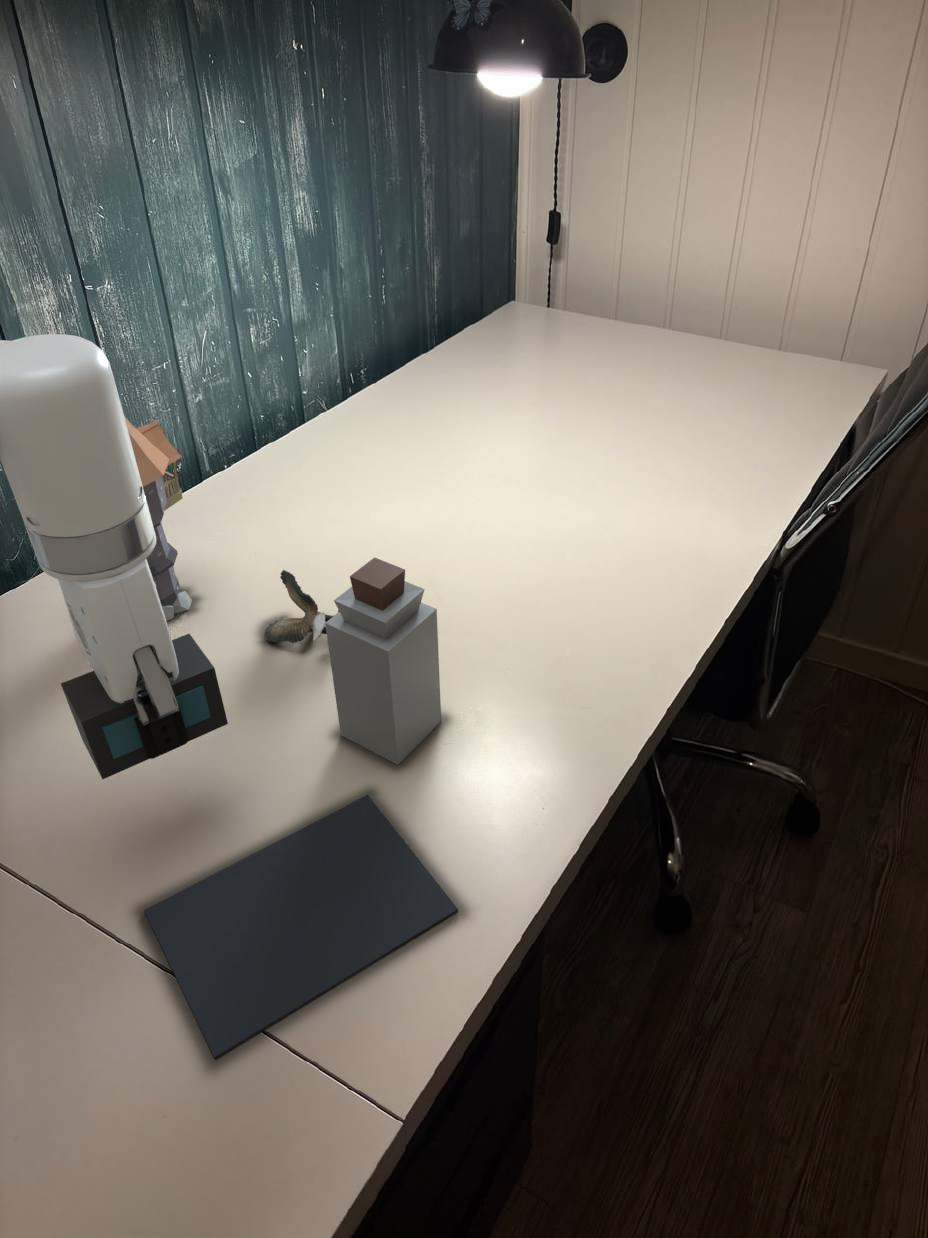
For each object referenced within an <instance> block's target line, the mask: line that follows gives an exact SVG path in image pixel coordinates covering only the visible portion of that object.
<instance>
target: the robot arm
mask: <svg viewBox="0 0 928 1238" xmlns="http://www.w3.org/2000/svg"><path fill="white" fill-rule="evenodd" d="M124 416H125V413H124V410H123V406H122V402H121V399H120V395H119V392H118V388H117V383H116V380H115V376H114V373H113V370H112V366H111V364H110V361H109V360H108V358H107V356H106V354H105V353H104V351H103V349H101V348H100V347H99V346H98V345H97V344H95V343H94V342H93V341H91V340H89V339H87V338H84V337H81V336H78V335H73V334H63V333H48V334H47V333H46V334H36V335H30V336H24V337H20V338H16V339H13V340H3V339H0V462H1V465H2V467H3V470H4V473H5V475H6V478H7V480H8V483H9V486H10V489H11V491H12V494H13V497H14V499H15V502H16V505H17V508H18V510H19V512H20V516H21V518H22V521H23V524H24V528H25V530H26V532H27V535H28V538H29V541H30V543H31V546H32V549H33V551H34V554H35V557H36V560H37V562H38V565H39V567H40V569H41V570H42V571H43V572H44V573H45V574H46V575H47V576H50V577H52V578H54V579H57V581H58V584H59V587H60V590H61V594H62V597H63V599H64V602H65V606H66V609H67V612H68V616H69V619H70V622H71V626H72V629H73V632H74V636H75V638H76V641H77V643H78V645H79V647H80V649H81V651H82V653H83V654H84V656H85V658H86V661H88V663H89V665H90V667H91V669H92V671H94V672H95V674H96V676H97V677H98V679H99V681H100V682H101V684H102V686H103V687H104V689H105V691H106V692H107V694H108V695H109V697H110V698H111V699H112V700H113V701H115V702H118V703H124V701H127V700H130V699H131V700H132V702H133V705H134V707H135V710H136V713H137V715H138V717H137V718H134V720H135V723H136V726H137V729H138V732H139V735H140V738H141V741H142V744H143V747H144V750H145V753H146V755H147V756H148V758H149V759H148V760H153V759H156V758H158V757H160V756H163V755H164V754H167V753H169V752H171V751H174V750H176V749H179V748H180V747H182V746H185V745H186V744H188V743H189V742H190V741H189V738H188V735H187V731H186V728H185V724H184V721H183V717H182V714H181V710H180V707H179V704H178V703H177V701H176V698H175V695H174V692H173V690H172V687H171V684H170V681H169V680H172V681H175V680H176V679H177V677H178V674H179V668H178V663H177V658H176V654H175V650H174V646H173V643H172V640H173V639H172V635H171V632H170V629H169V626H168V622H167V621H166V618H165V615H164V612H163V609H162V605H161V602H160V599H159V596H158V593H157V590H156V584H155V583H154V580H153V577H152V574H151V571H150V568H149V565H148V562H147V559H146V558H147V557H148V556H149V555H150V554H151V552H152V551H153V550H154V547H155V545H156V534H155V531H154V527H153V524H152V520H151V516H150V512H149V508H148V505H147V501H146V497H145V494H144V490H143V486H142V482H141V478H140V475H139V471H138V467H137V463H136V459H135V455H134V451H133V448H132V444H131V440H130V436H129V432H128V429H127V425H126V421H125V417H126V416H125V417H124ZM138 675H140V676H141V679H139V680H137V678H138ZM145 691H147V692H148V694H149V696H150V699H151V703H149V704H146V706H145V707H144V704H143V702H142V699H141V696H140V693H143V692H145ZM188 741H189V742H188Z"/></svg>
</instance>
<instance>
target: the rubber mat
mask: <svg viewBox="0 0 928 1238" xmlns="http://www.w3.org/2000/svg"><path fill="white" fill-rule="evenodd" d="M143 912H144V914H145V916H146V919H147V920H148V923H149V924H150V926H151V929H152V931H153V933H154V935H155V937H156V939H157V941H158V943H159V945H160V947H161V949H162V953H163V954H164V956H165V958H166V960H167V963H168V965H169V966H170V968H171V971H172V972H173V973H172V974H173V975H174V977H175V980H176V981H177V983H178V985H179V987H180V990H181V991H182V994H183V996H184V998H185V1000H186V1002H187V1004H188V1006H189V1008H190V1010H191V1013H192V1014H193V1016H194V1019H195V1021H196V1023H197V1025H198V1027H199V1029H200V1031H201V1033H202V1035H203V1037H204V1039H205V1042H206V1044H207V1046H208V1048H209V1050H210V1052H211V1054H212V1057H213V1058H214V1060H217V1059H218V1058H220V1057H222V1056H223V1055H225V1054H227V1053H228V1052H230V1051H232V1050H234V1049H235V1048H236V1047H238V1046H240V1045H241V1044H243V1043H245V1042H246V1041H248V1040H249V1039H251V1038H253V1037H254V1036H256V1035H258V1034H260V1033H261V1032H263V1031H264V1030H266V1029H268V1028H269V1027H271V1026H272V1025H274V1024H276V1023H278V1022H279V1021H281V1020H283V1019H284V1018H285V1017H287V1016H289V1015H291V1014H293V1013H294V1012H296V1011H297V1010H299V1009H300V1008H302V1007H304V1006H305V1005H307V1004H309V1003H310V1002H312V1001H314V1000H315V999H317V998H318V997H320V996H321V995H323V994H325V993H326V992H328V991H330V990H331V989H333V988H335V987H337V986H338V985H340V984H342V983H343V982H345V981H346V980H348V979H349V978H351V977H353V976H355V975H356V974H358V973H359V972H361V971H363V970H365V969H366V968H368V967H370V966H371V965H372V964H375V963H376V962H377V961H379V960H381V959H383V958H384V957H386V956H387V955H389V954H390V953H392V952H394V951H395V950H397V949H399V948H400V947H402V946H403V945H406V944H407V943H409V942H410V941H412V940H414V939H415V938H417V937H419V936H420V935H422V934H423V933H425V932H426V931H429V930H430V929H431V928H433V927H435V926H437V925H438V924H439V923H441V922H443V921H445V920H446V919H448V918H450V917H451V916H453V915H455V914H456V913H458V912H459V908H458V907H457V906H456V905H455V903H454V902H453V901H452V899H451V898H450V897H449V896H448V895H447V893H446V892H445V890H444V889H443V888H442V887H441V885H439V882H438V881H436V879H435V878H434V877H433V876H432V874H431V873H430V872H429V870H428V869H427V868H426V867H425V865H424V864H423V863H422V862H421V860H420V859H419V858H418V856H417V855H416V854H415V853H414V851H413V850H412V848H410V846H409V845H408V844H407V842H406V841H405V839H403V837H402V836H401V835H400V834H399V832H398V831H397V830H396V829H395V827H394V826H393V825H392V824H391V822H390V821H389V820H388V818H387V817H386V816H385V815H384V814H383V812H382V811H381V810H380V808H379V807H378V805H376V803H375V802H374V801H373V799H371V797H370V796H369V794H366V795H364V796H362V797H360V798H358V799H357V800H355V801H353V802H351V803H348V804H346V805H345V806H343V807H341V808H339V809H337V810H335V811H333V812H331V813H329V814H327V815H325V816H323V817H322V818H320V819H318V820H316V821H313V822H312V823H310V824H308V825H306V826H304V827H302V828H300V829H298V830H296V831H294V832H292V833H290V834H289V835H287V836H285V837H283V838H281V839H279V840H277V841H275V842H273V843H271V844H269V845H267V846H265V847H263V848H261V849H260V850H258V851H255V852H254V853H251V854H250V855H248V856H245V857H244V858H242V859H240V860H238V861H236V862H234V863H233V864H231V865H229V866H226V867H224V868H222V869H221V870H219V871H216V872H215V873H213V874H211V875H209V876H207V877H205V878H203V879H201V880H199V881H197V882H195V883H194V884H191V885H189V886H187V887H186V888H184V889H182V890H180V891H177V892H176V893H174V894H172V895H170V896H168V897H166V898H164V899H163V900H160V901H158V902H156V903H155V904H153V905H151V906H149V907H146V908H145V909H143Z"/></svg>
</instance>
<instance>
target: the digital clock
mask: <svg viewBox="0 0 928 1238" xmlns="http://www.w3.org/2000/svg"><path fill="white" fill-rule="evenodd" d="M172 643H173V646H174V650H175V654H176V658H177V663H178V668H179V674H178V677H177V679H176V680H175V681H172V680H169V681H170V684H171V687H172V690H173V692H174V695H175V698H176V701H177V703H178V704H179V707H180V710H181V714H182V717H183V721H184V724H185V728H186V731H187V735H188V738H189V741H188V742H187V743H189V742H190V741H193V740H195V739H198V738H200V737H202V736H205V735H206V734H209V733H211V732H214V731H215V730H218V729H220V728H223V727H225V726H227V725H229V722H228V717H227V713H226V709H225V706H224V701H223V698H222V692H221V688H220V685H219V680H218V677H217V672H216V669H215V668H216V667H215V666H214V665H213V663H212V662H211V661H210V659H209V658H208V656H207V655H206V654H205V652H204V651H203V650H202V648H201V647H200V646H199V644H198V643H197V641H196V640H195V638H193V636H192V635H191V633H187V634H184V635H181V636H179V637H176V638H174V639H172ZM139 679H141V676H140V675H138V678H137V680H139ZM60 686H61V689H62V692H63V693H64V696H65V699H66V702H67V704H68V707H69V709H70V713H71V715H72V717H73V719H74V722H75V724H76V727H77V730H78V733H79V735H80V738H81V741H82V742H83V745H84V746H85V748H86V750H87V752H88V754H89V756H90V758H91V760H92V762H93V764H94V766H95V768H96V770H97V771H98V774H99V775H100V777H101V779H102V780H105V779H108V778H110V777H111V776H114V775H116V774H119V773H122V772H123V771H125V770H127V769H129V768H132V767H134V766H137V765H139V764H142V763H144V762H146V761H148V760H150V759H149V758H148V756H147V755H146V753H145V750H144V747H143V744H142V741H141V738H140V735H139V732H138V729H137V726H136V723H135V720H134V718H137V717H138V715H137V713H136V710H135V707H134V705H133V702H132V700H131V699H130V700H127V701H124V703H118V702H115V701H113V700H112V699H111V698H110V697H109V695H108V694H107V692H106V691H105V689H104V687H103V686H102V684H101V682H100V681H99V679H98V677H97V676H96V674H95V672H94V670H91V671H88V672H86V673H84V674H81V675H79V676H76V677H73V678H71V679H68V680H65V681H63V682H61V683H60ZM140 696H141V699H142V702H143V704H144V707H145V706H146V704H149V703H151V699H150V696H149V694H148V692H147V691H145V692H143V693H140Z"/></svg>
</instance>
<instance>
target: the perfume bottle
mask: <svg viewBox="0 0 928 1238" xmlns="http://www.w3.org/2000/svg"><path fill="white" fill-rule="evenodd" d="M349 579H350V584H351V587H349V588H348V589H346V590H345V591H344V592H343V593H341V594H339V596H337V597H336V598H334V600H333V602H334V604H335V606H336V608H337V613H336V614H335V616H333V615H332V616H333V617H332V618H331V619H330V620H328V621H327V622H325V627H326V632H327V634H326V640H327V645H328V653H329V660H330V667H331V672H332V673H331V674H332V681H333V689H334V696H335V704H336V712H337V718H338V719H337V720H338V727H339V732H340V736H342V737H343V738H345V739H347V740H349V741H351V742H353V743H355V744H357V745H359V746H361V747H362V748H364V749H366V750H368V751H370V752H372V753H374V754H375V755H378V756H380V757H381V758H384V759H385V760H388V761H389V762H391V763H393V764H395V765H397V766H399V765H400V764H401V763H402V762H403V761H404V760H405V758H407V757H408V755H409V754H411V752H413V750H415V748H416V747H417V746H418V745H419V744H420V743H421V742H422V741H423V740H424V739H425V738H426V737H428V735H429V734H430V733H431V732H433V730H434V729H435V728H436V727H437V726H438V725H439V724H440V723H441V722H442V705H441V703H442V702H441V681H440V657H439V655H440V654H439V633H438V631H439V630H438V629H439V628H438V610H437V608H435V607H433V606H431V605H428V604H426V603H424V602H422V600H423V596H424V593H425V588H423V587H420V586H418V585H415V584H413V583H410V582H409V581H406V569H404V568H402V567H400V566H397V565H395V564H392V563H390V562H387V561H385V560H382V559H380V558H377V557H373V558H372V559H370V560H369V561H368V562H366V563H365V564H364V565H363V566H361V567H360V568H359V569H357V570H356V571H354V572H353V573H352V574H351V575H349ZM338 610H339V612H338Z"/></svg>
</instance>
